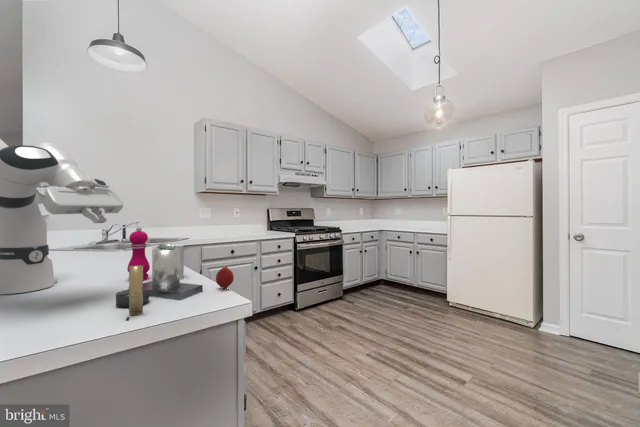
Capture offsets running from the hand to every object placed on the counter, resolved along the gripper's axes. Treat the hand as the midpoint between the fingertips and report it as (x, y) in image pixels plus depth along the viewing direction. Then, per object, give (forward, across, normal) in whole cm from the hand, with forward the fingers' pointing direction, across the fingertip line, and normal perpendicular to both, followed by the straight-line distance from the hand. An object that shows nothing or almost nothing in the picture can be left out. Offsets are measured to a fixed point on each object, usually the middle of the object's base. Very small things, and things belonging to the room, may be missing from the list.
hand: (101, 221), depth 84 cm
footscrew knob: (+25, -1, +8) cm, 26 cm away
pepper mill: (+8, +25, +26) cm, 37 cm away
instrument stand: (+23, +5, +10) cm, 26 cm away
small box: (+15, +29, +18) cm, 38 cm away
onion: (+35, +23, -1) cm, 42 cm away
